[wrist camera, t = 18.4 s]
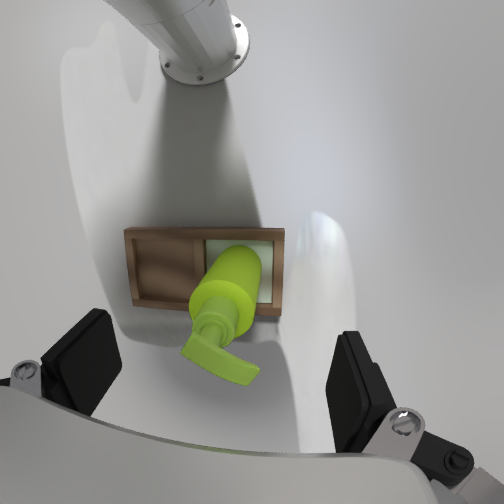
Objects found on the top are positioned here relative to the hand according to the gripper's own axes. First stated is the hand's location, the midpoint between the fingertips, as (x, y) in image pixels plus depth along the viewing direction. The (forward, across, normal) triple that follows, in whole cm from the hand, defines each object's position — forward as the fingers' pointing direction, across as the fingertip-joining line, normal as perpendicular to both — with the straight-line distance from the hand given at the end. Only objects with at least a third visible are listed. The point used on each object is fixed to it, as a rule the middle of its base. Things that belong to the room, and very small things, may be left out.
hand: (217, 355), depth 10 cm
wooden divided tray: (+27, +7, +7) cm, 29 cm away
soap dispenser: (+26, +2, +6) cm, 27 cm away
